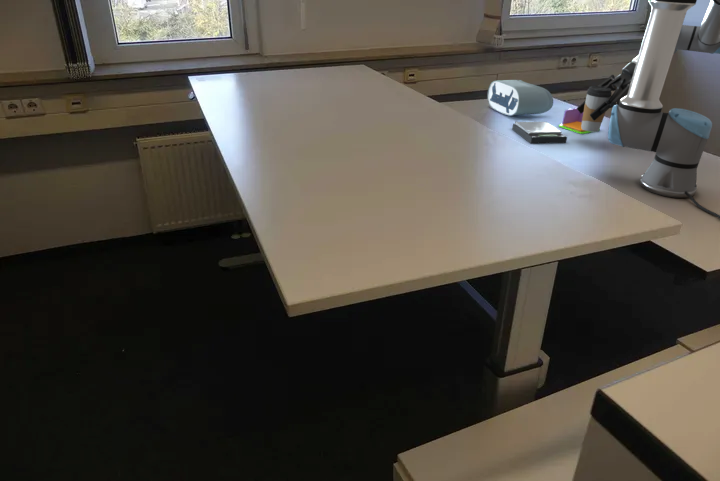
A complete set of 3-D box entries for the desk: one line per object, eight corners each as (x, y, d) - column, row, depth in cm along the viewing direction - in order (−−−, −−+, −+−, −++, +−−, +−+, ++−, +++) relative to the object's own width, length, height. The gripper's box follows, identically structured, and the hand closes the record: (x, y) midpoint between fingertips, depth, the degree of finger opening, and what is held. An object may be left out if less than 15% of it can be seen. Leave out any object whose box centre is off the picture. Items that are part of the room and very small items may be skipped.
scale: (565, 143, 197) (567, 134, 196) (530, 143, 195) (532, 135, 194) (545, 129, 212) (546, 121, 210) (512, 129, 210) (513, 121, 208)
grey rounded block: (485, 106, 238) (489, 77, 232) (519, 104, 245) (524, 75, 239) (515, 120, 221) (521, 89, 214) (551, 117, 227) (558, 87, 221)
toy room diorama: (576, 122, 222) (579, 106, 218) (600, 130, 213) (605, 113, 210) (557, 126, 216) (560, 109, 213) (581, 134, 207) (586, 117, 204)
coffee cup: (603, 133, 191) (615, 92, 184) (579, 131, 192) (590, 89, 185) (599, 127, 198) (610, 86, 191) (576, 125, 199) (586, 84, 192)
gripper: (661, 83, 179) (606, 130, 185) (625, 71, 198) (575, 113, 203) (652, 67, 176) (596, 115, 181) (616, 55, 194) (565, 99, 199)
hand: (585, 114), depth 192 cm, fingers closed on coffee cup, 8 cm apart
